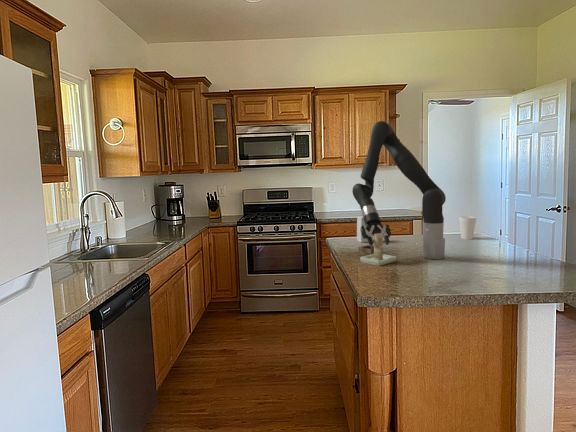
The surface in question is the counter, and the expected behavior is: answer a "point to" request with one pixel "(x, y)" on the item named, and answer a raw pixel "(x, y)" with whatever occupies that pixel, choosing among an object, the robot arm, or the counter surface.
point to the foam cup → (467, 226)
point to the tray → (371, 260)
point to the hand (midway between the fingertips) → (379, 244)
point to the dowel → (378, 246)
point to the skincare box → (359, 236)
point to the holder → (366, 250)
